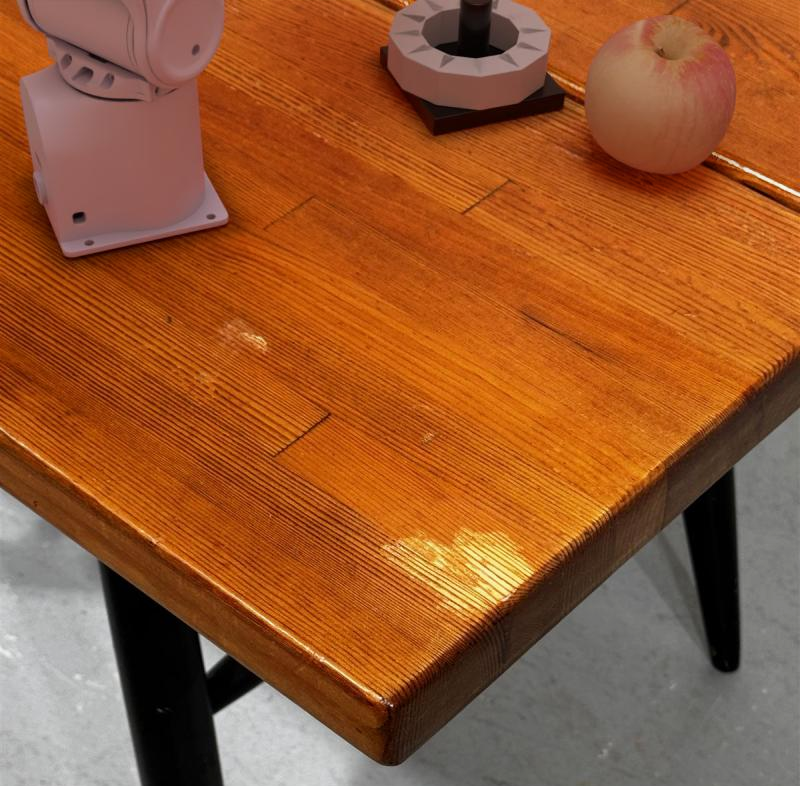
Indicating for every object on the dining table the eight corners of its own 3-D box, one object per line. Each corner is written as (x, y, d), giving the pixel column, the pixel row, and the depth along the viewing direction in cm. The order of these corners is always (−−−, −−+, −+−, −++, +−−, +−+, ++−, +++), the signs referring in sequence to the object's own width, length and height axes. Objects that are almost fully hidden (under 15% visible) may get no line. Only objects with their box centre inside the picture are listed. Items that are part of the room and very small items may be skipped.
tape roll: (423, 120, 89) (424, 86, 87) (368, 39, 95) (368, 5, 93) (571, 94, 91) (576, 59, 90) (508, 16, 98) (511, -17, 96)
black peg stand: (433, 136, 90) (438, 45, 85) (379, 62, 95) (381, -26, 91) (563, 109, 92) (575, 19, 88) (503, 39, 98) (511, -49, 93)
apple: (655, 102, 93) (676, -15, 87) (751, 171, 88) (780, 52, 82) (547, 142, 90) (562, 23, 84) (640, 216, 85) (662, 95, 79)
